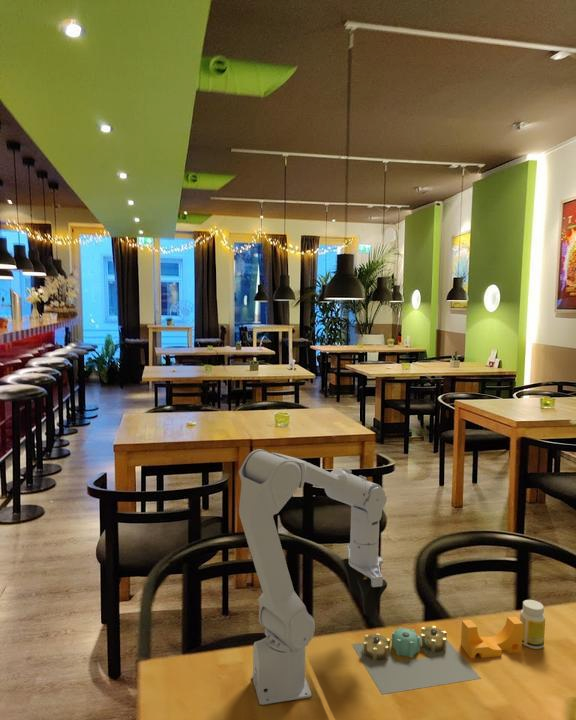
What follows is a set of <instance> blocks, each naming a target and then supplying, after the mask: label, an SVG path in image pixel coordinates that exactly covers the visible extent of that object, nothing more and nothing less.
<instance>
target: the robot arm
mask: <svg viewBox="0 0 576 720" xmlns="http://www.w3.org/2000/svg"><path fill="white" fill-rule="evenodd" d="M238 474H239V480H240V481H241V487H240V495H239V504H238V505H239V506H238V507H239V508H238V514H239V515H238V516H239V518H240V521H241V526H242V528H243V529H242V530H243V532H244V536H245V539H246V542H247V545H248V549H249V552H250V554H251V558H252V561H253V565H254V568H255V572H256V575H257V578H258V581H259V584H260V587H261V591H262V593H261V594H260V596H259V597H258V599H257V601H258V605H259V606H258V607H259V610H258V620H259V623H260V625H261V626H262V627H263V628H264V635H265V636H266V637H264V638H262V639H260V640H257V641H254V643H253V645H252V646H253V653H252V676H251V677H252V682H253V685H254V688H255V692H256V695H257V696H256V697H257V699H258V703H259V705H261V706H263V705H270V704H277V703H282V702H290V701H294V700H300V699H301V700H302V699H307V698H311V697H312V692H311V689H310V686H309V683H308V681H307V679H306V649H307V648H306V647H307V646H309V645H310V644H309V643H311V641H312V640H313V637H314V635H315V630H316V623H315V622H316V621H315V619H314V617H313V616H312V615H311V614H309V612H308V610H307V607H306V605H305V603H304V602H303V601H302V599H301V598H300V597H299V596H298V595H297V593H296V591H295V590H294V586H293V582H292V579H291V575H290V572H289V569H288V564H287V561H286V557H285V553H284V551H283V548H282V544H281V540H280V537H279V534H278V529H277V526H276V522H275V519H274V516H275V515H277V514H279V512H280V511H281V510H282V509H283V508H284V506H285V505H287V502H288V501H289V500H290V499H292V497H293V495H294V494H295V493H296V491H297V490H298V489H302V488H303V487H304V485H305V483H307V484H311V485H314V486H316V487H318V488H319V487H320V488H323V489H324V492H325V494H326V496H327V497H328V498H330V499H332V500H334V501H335V500H336V501H338V502H341V503H344V504H345V505H348V506H350V531H349V533H350V534H349V535H350V536H349V537H350V538H349V545H346V555H347V558H343V559H341V563H342V566H343V568H344V571H345V574H346V578H347V583H348V589H349V593H350V595H351V596H358V595H360V596H361V598H362V599H361V601H362V609H363V614H364V615H365V616H369V615H371V616H373V615H375V614H376V613H377V608H378V605H379V602H380V599H381V597H382V595H383V593H384V592H385V590H386V589H387V587H388V582H387V581H386V580H385V578H383V577H384V576H383V575H382V573H381V569H380V567H381V566H380V565H383V564H384V558H382V557H381V556H379V544H380V543H379V542H380V541H379V538H380V521H381V519H382V517H383V510H384V508H385V506H386V503H387V501H388V500H387V499H388V496H387V495H386V492H385V491H384V489H383V487H382V486H381V485H380V484H378V483H374V482H373V481H370V480H369V481H368V480H367V477H366V476H363V475H358V476H357V475H354V474H353V473H352V469H348V468H346V467H342V468H340V469H339V468H336V469H333V470H332V471H328V470H325V469H323V468H321V467H319V466H317V465H314V464H312V463H311V462H307V461H306V460H303V459H301V458H297V457H294V456H289V455H287V454H282V453H279V452H268V451H267V450H266V449H263V448H262V449H254V450H253V451H251V452H250V453H248V455H247V456H246V457H245V459H244V461H243V462H242V464H241V466H240V468H239V470H238ZM365 576H366V579H365V578H364V577H365Z"/></svg>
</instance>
